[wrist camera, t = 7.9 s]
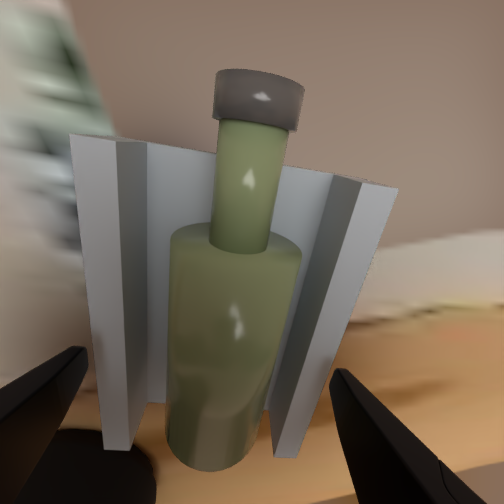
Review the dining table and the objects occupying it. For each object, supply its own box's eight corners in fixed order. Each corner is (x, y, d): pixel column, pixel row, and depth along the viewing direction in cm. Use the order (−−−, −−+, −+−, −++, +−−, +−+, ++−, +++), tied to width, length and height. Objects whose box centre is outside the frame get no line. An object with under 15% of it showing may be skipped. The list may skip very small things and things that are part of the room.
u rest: (288, 399, 16) (299, 458, 13) (128, 388, 15) (99, 449, 12) (358, 177, 11) (405, 190, 8) (116, 136, 10) (61, 132, 7)
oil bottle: (250, 375, 14) (268, 464, 10) (170, 378, 13) (157, 479, 9) (305, 109, 9) (383, 85, 5) (182, 82, 8) (163, 30, 4)
